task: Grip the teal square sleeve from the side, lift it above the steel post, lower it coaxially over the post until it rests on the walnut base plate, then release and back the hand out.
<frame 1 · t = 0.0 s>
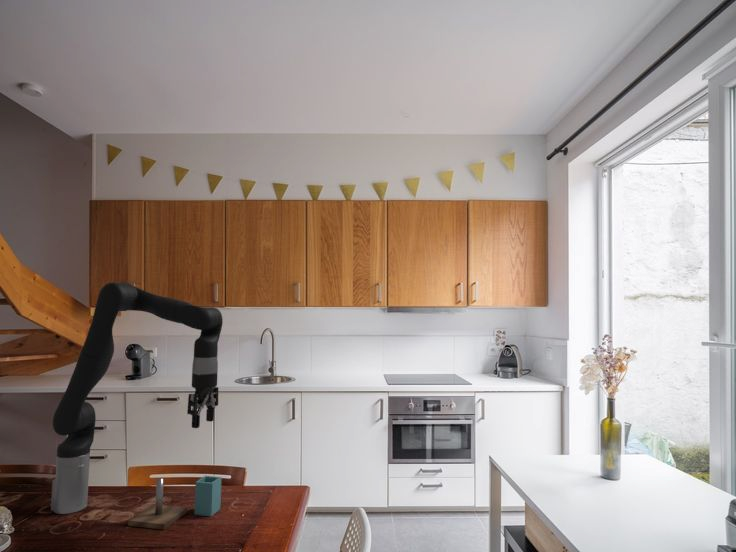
hand: (202, 424, 148), 29 cm above the table, tool pointing down, fingers open, 8 cm apart
teal sleeve: (207, 511, 153), on the table
walnut base plate: (158, 518, 147), on the table
steel post: (159, 496, 148), on the walnut base plate, point 7 cm above the table
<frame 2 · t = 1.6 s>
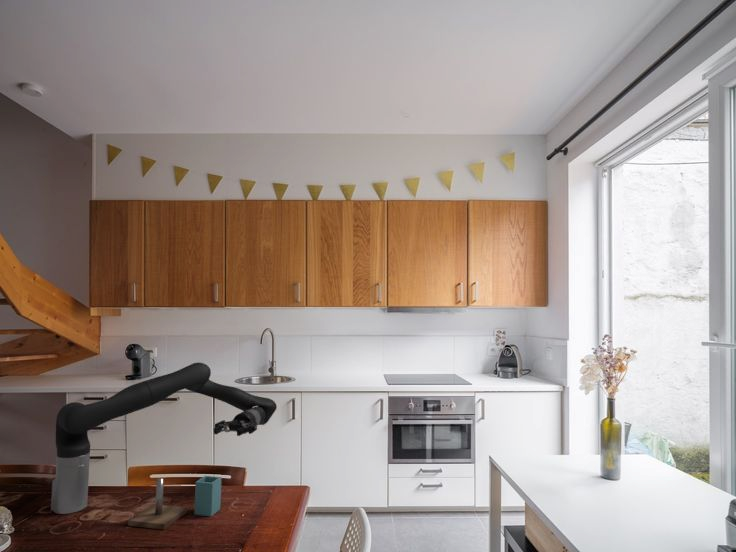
hand: (226, 432, 165), 22 cm above the table, tool horizontal, fingers open, 8 cm apart
nothing on the table moved.
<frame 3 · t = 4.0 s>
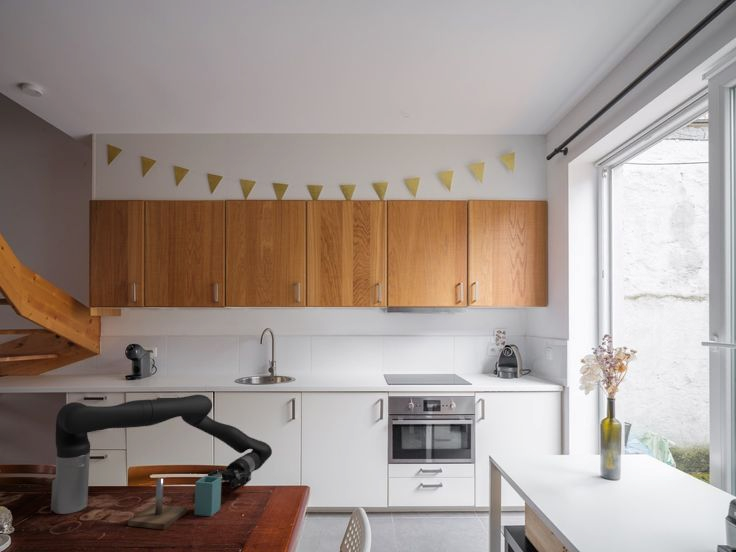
hand: (219, 484, 161), 6 cm above the table, tool horizontal, fingers open, 8 cm apart
nothing on the table moved.
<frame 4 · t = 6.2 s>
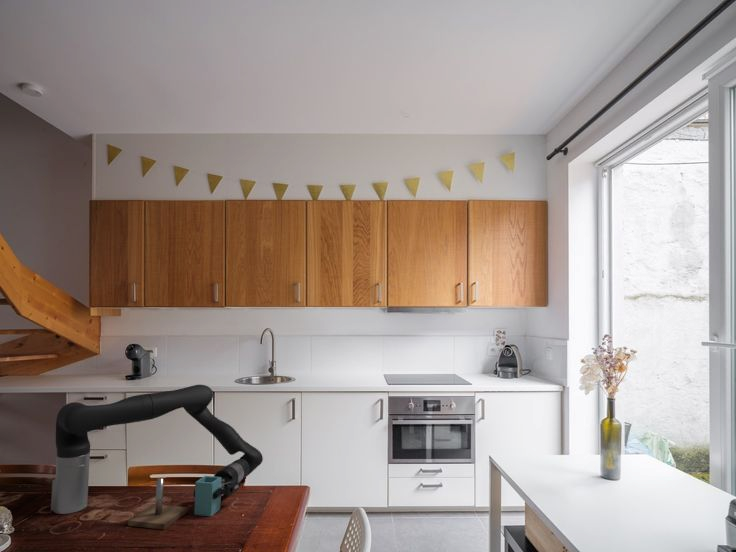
hand: (204, 495, 151), 6 cm above the table, tool horizontal, fingers closed on teal sleeve, 5 cm apart
teal sleeve: (207, 511, 153), on the table, touching gripper
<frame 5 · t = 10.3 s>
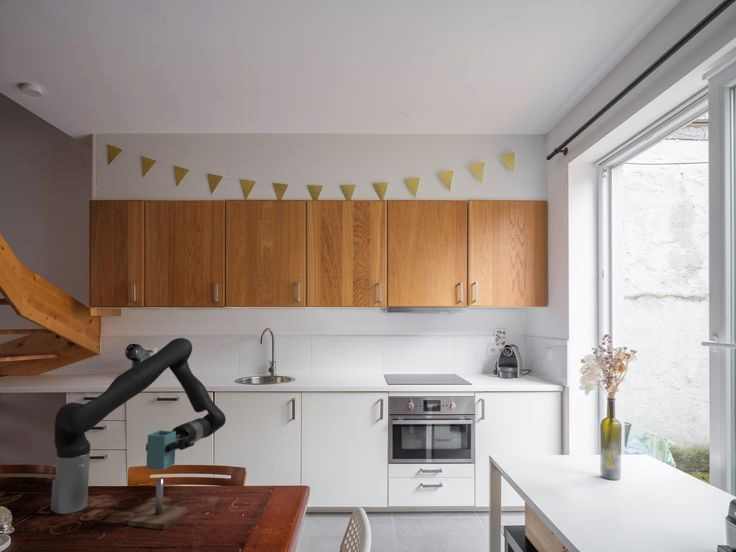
hand: (156, 448, 146), 22 cm above the table, tool horizontal, fingers closed on teal sleeve, 5 cm apart
teal sleeve: (160, 466, 148), point 16 cm above the table, touching gripper
when the fingers open (9 cm above the table, at t = 14.2 s): teal sleeve drops 1 cm, resting on walnut base plate.
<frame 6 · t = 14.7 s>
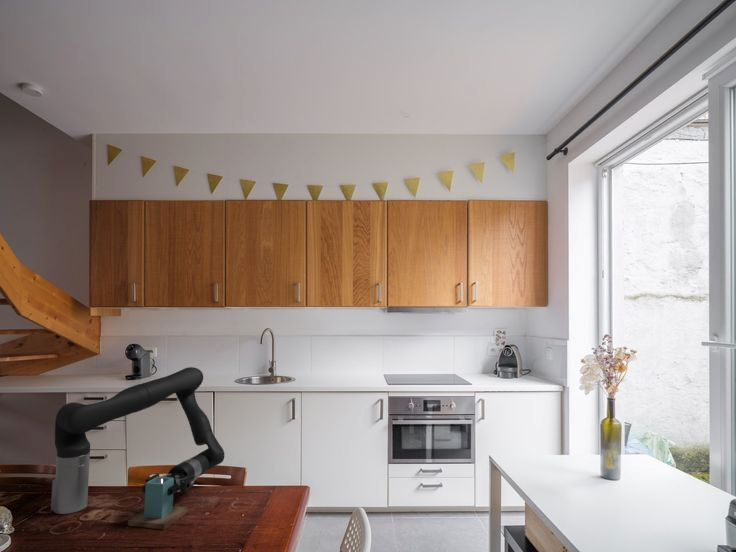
hand: (155, 491, 146), 9 cm above the table, tool horizontal, fingers open, 8 cm apart
teal sleeve: (158, 513, 147), point 1 cm above the table, touching walnut base plate
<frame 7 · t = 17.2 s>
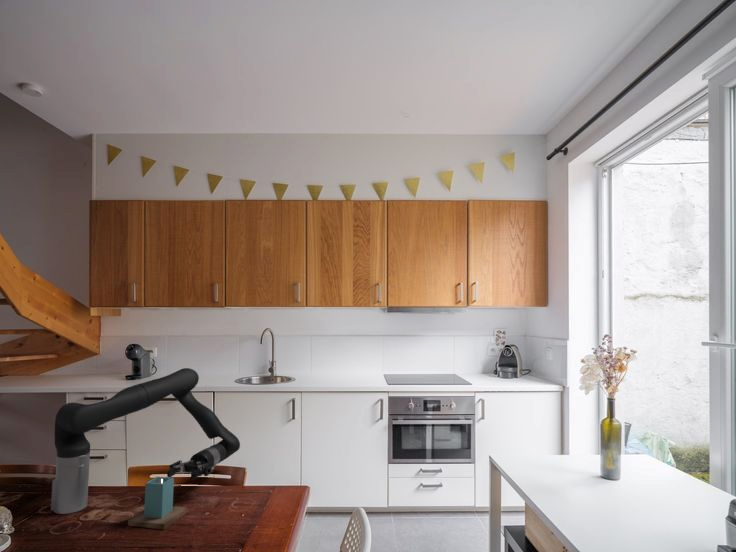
hand: (180, 475, 159), 9 cm above the table, tool horizontal, fingers open, 8 cm apart
nothing on the table moved.
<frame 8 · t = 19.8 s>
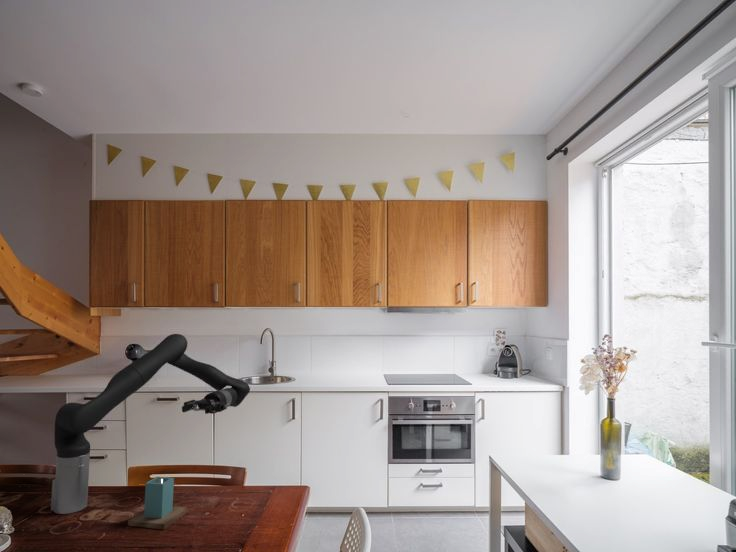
hand: (194, 410, 164), 30 cm above the table, tool horizontal, fingers open, 8 cm apart
nothing on the table moved.
at the end: teal sleeve 0.0 cm from the steel post (horizontally); teal sleeve point 1.5 cm above the table; teal sleeve tilted 0° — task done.
